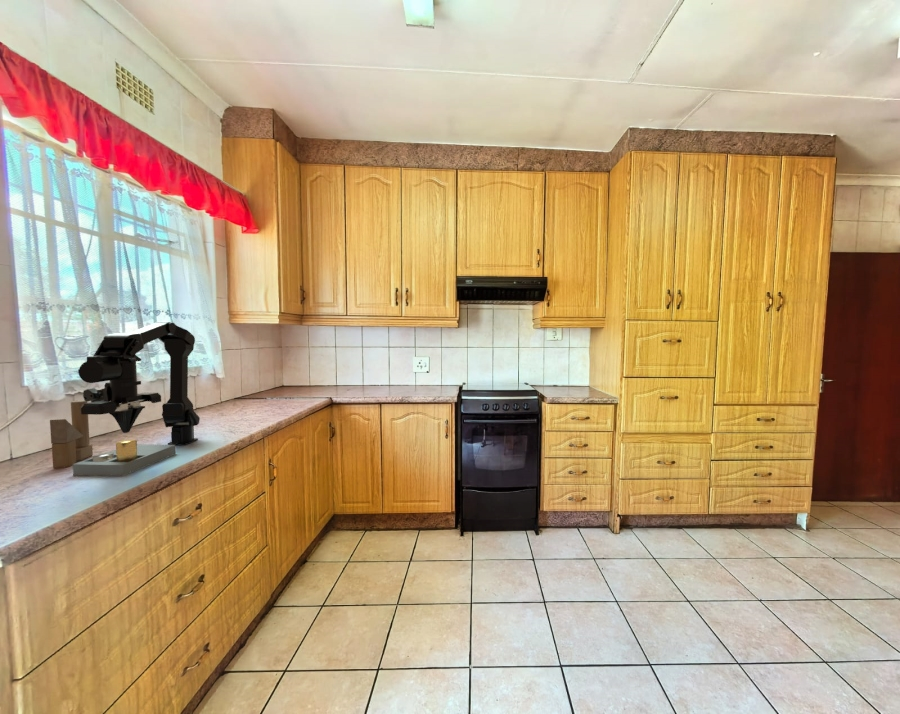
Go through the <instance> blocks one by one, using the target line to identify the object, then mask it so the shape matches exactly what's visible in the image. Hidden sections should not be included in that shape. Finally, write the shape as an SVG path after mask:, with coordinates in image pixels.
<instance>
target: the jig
mask: <svg viewBox="0 0 900 714" xmlns="http://www.w3.org/2000/svg"><path fill="white" fill-rule="evenodd" d="M176 448H177V447H176V445H168V444H150V443H149V444H144V443H143V444H139V443H137V459H135V460H132V461H130V462H117V457H116V449H115V450H111V451H109V452H107V453H114V458H113V459H110V460H107V461H104V462H93V457H91V458H86V459H83V460H81V461H77V462H76V463H75V464H73V465H72V473H73V476H102V477H103V476H109V477H110V476H111V477H112V476H113V477H117V476H118V477H123V476H126V475H128V474H130V473H134V472H136V471H138V470H141V469H142V468H146V467H148V466H150V465H152V464H155V463H158V462H160V461H162V460H165V459H167V458H170V457H172V456H174V455H176V453H177V452H176Z"/></svg>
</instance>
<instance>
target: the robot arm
mask: <svg viewBox="0 0 900 714" xmlns="http://www.w3.org/2000/svg"><path fill="white" fill-rule="evenodd" d="M195 338H196V337H195V336H194V335H193V334H192V333H191V331H189V330H187V329H186V328H183V327H181V326H178V325H177V324H175V322H173V321H155V322H153V323H152V324H149V325H146V326H144V327H141V328H139V329H136V330H133V331H130V332H115V333H108V334H106V335H105V336H104V337H103V340H101V343H100V344H99V346H98V347H97V349H96V351H95V352H94V354H93V355H92V356H86V361H85V362H83V363H81V365H80V366H79V369H78V371H77V373H78V375H79V379H81V380H82V381H83V382H86V383H87V384H88V383H89V384H94V383H102V382H103V383H104V382H105V384H104V388H101V389H96V388H94V387H93V388H87V389H84V390H83V391H82V392H83V393H82V394H83V395H82V397H83V400H85V401H86V402H87V403H84V404H83V405H82V406H81V414H88V415H107V414H109V415H111V417H113V418H114V419H115V421H116V423H117V425H118V427H119V428H120V430H121V432H122V433H124V434H127V433H129V432H130V431H131V429H132V428H133V425H134V424H135V422H136V420H137V418H138V417H139V415H141V414H140V413H142V411H143V409H146V405H141V403H144V402H148V403H149V402H150V403H151V404H157V403H161V402H162V395H161V394H160V393H159V392H139V393H138V385H142V380H138V374H137V362H142V358H140V357H139V356H137V355H136V354H138V353H140V352H141V351H142V350H144V349H145V345H146V344H148V343H150V342H153V341H156V340H159V341H160V342H162V343H163V345H164V350H165V352H166V354H168V355H169V358H170V360H169V365H170V368H169V399H168V400H167V401H166V403H163V404H162V406H161V407H162V413H161V416H162V419H163V422H164V426H165V428H171V432H170V435H171V436H170V437H171V439H170V440H171V441H170V442H168V443H167V445H175V446H185V445H188V444H191V443H194V442H196V441H198V440H199V438H198V437H195V432H194V431H195V429H194V428H195V427H194V426H198V425H199V424H200V416H199V415H198V414H197V413H196V412H195V410H194V404H193V402H192V401H191V400H190V398H189V397H188V395H189V394H188V388H189V386H188V384H189V383H188V382H189V379H188V377H189V375H188V374H189V371H188V370H189V368H188V367H189V365H188V364H189V356H190V355H191V353H192V352H193V350H194V347H195V342H196V339H195ZM108 381H109V382H108Z"/></svg>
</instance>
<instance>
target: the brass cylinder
mask: <svg viewBox="0 0 900 714" xmlns="http://www.w3.org/2000/svg"><path fill="white" fill-rule="evenodd" d="M137 441H138V439H135V438H133V439H123V440H119V441H116V443H115V450H116V457H117V462H130V461H132V460H135V459H137V444H138V443H137Z"/></svg>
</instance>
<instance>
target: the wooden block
mask: <svg viewBox="0 0 900 714" xmlns="http://www.w3.org/2000/svg"><path fill="white" fill-rule="evenodd" d="M84 403H88V402H86V401H85V400H84V399H79V400H72V401H71V402H70V414H71V423H70V422H69V421H68V419H65V418H62V419H61V418H60V419H50V420H49V428H50V444H51V452H52V453H51V454H52V455H51V457H52V458H51V459H52V467H53V469H58V468H59V469H60V468H69V467H71V466H73V464H75V463H78V462H81V461H84V460H86V459H88V458H89V457H91V456H92V457H93V456H94V455H93V454H94V452H93V444H91V443H90V424H89V414H81V406H82V405H83V404H84Z"/></svg>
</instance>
